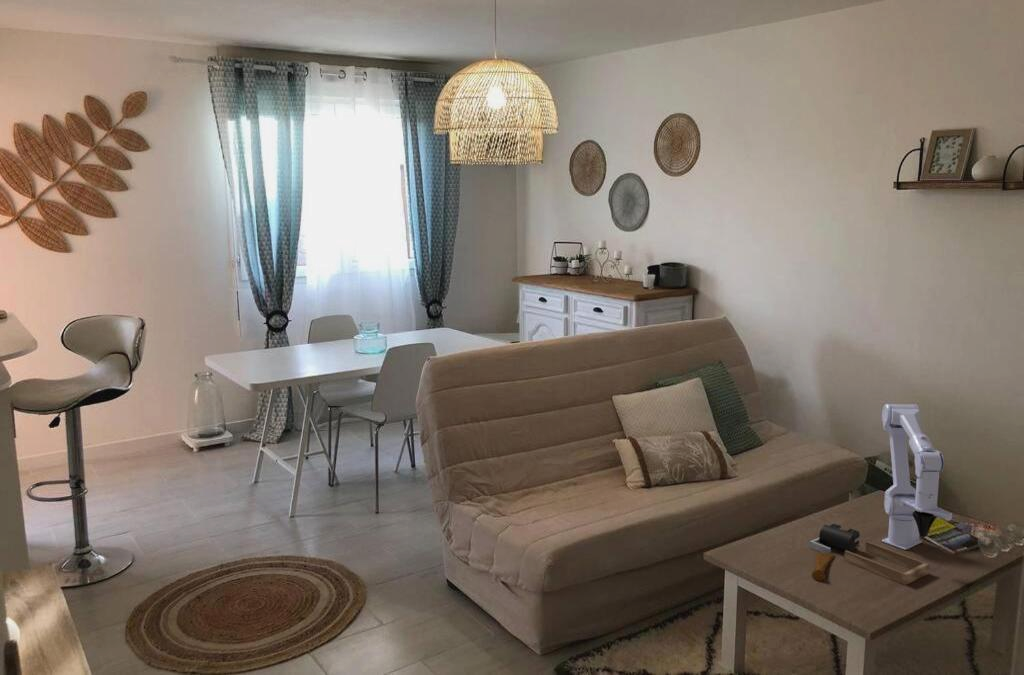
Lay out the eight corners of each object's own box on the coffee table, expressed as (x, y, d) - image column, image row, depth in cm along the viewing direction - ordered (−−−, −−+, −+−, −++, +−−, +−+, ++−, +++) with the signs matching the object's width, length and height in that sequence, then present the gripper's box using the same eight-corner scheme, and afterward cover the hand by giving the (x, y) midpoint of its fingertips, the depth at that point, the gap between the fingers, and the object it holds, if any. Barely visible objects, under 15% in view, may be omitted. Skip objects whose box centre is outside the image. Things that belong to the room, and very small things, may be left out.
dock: (834, 536, 267) (834, 531, 267) (853, 544, 262) (854, 538, 261) (809, 547, 260) (809, 541, 260) (828, 555, 255) (828, 549, 254)
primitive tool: (815, 553, 257) (815, 543, 256) (834, 556, 254) (834, 545, 254) (811, 581, 239) (811, 569, 239) (831, 584, 237) (832, 573, 236)
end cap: (818, 547, 260) (819, 527, 259) (829, 540, 265) (830, 520, 264) (849, 557, 253) (850, 536, 252) (860, 550, 258) (861, 530, 256)
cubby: (867, 550, 257) (868, 541, 257) (928, 573, 242) (929, 563, 241) (844, 560, 251) (844, 551, 250) (905, 585, 235) (906, 575, 234)
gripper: (895, 487, 245) (892, 531, 247) (944, 502, 233) (940, 547, 236) (908, 482, 249) (905, 525, 251) (957, 496, 237) (953, 541, 240)
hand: (923, 535), depth 244 cm, fingers closed
